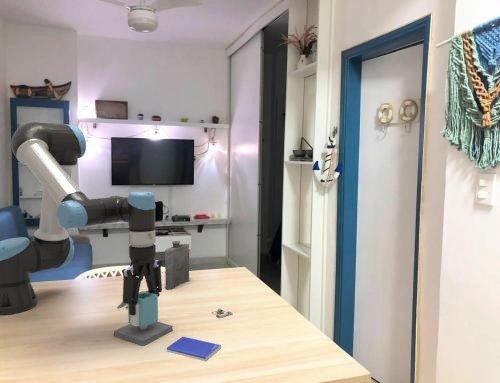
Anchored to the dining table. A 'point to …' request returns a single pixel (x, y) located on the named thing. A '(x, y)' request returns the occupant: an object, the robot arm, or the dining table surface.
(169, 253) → the flask
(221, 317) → the grey rectangular frame
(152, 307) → the block with square hole
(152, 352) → the dining table surface
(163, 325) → the pin base
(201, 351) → the hard drive
